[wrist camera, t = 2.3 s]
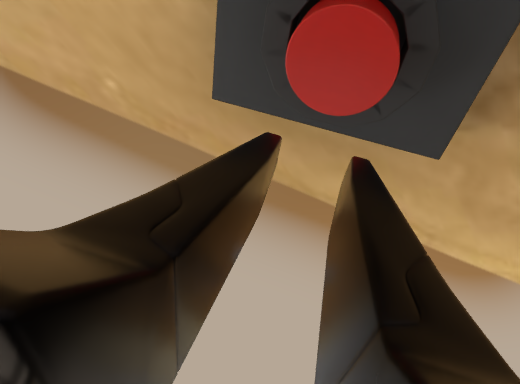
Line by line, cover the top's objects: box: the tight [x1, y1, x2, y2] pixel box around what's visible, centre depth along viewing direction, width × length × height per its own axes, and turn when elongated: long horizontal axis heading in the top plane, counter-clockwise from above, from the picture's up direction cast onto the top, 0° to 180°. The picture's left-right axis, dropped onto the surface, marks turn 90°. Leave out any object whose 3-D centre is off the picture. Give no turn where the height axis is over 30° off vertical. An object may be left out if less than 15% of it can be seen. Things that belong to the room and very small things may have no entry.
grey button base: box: [212, 0, 520, 160], centre depth 17 cm, size 13×10×4 cm
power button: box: [285, 0, 400, 116], centre depth 15 cm, size 4×4×2 cm
